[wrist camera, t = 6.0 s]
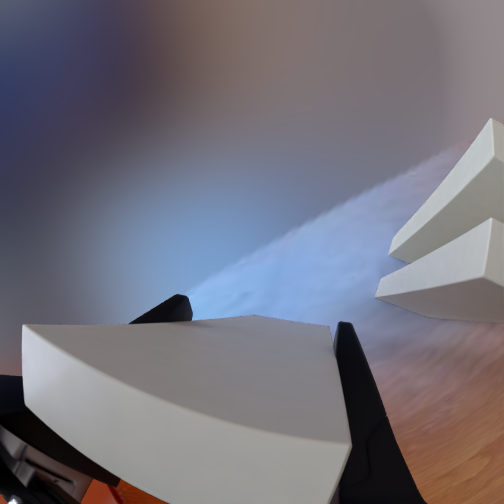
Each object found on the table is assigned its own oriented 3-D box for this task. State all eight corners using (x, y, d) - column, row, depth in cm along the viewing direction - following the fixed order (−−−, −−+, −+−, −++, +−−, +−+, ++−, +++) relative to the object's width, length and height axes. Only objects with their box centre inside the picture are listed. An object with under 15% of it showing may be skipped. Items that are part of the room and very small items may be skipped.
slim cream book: (325, 350, 17) (311, 542, 2) (250, 337, 18) (24, 404, 3) (329, 326, 17) (353, 444, 2) (254, 314, 19) (21, 323, 3)
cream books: (427, 317, 19) (576, 325, 3) (374, 297, 20) (482, 277, 5) (444, 257, 19) (580, 182, 4) (393, 236, 20) (490, 116, 5)
